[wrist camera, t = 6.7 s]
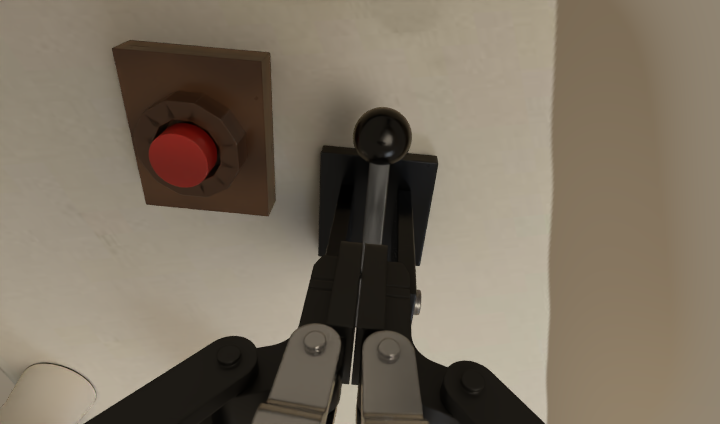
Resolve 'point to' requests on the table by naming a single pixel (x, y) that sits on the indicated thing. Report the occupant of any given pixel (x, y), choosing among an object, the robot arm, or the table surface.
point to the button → (183, 155)
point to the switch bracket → (402, 214)
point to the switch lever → (379, 165)
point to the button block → (203, 120)
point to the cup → (48, 397)
